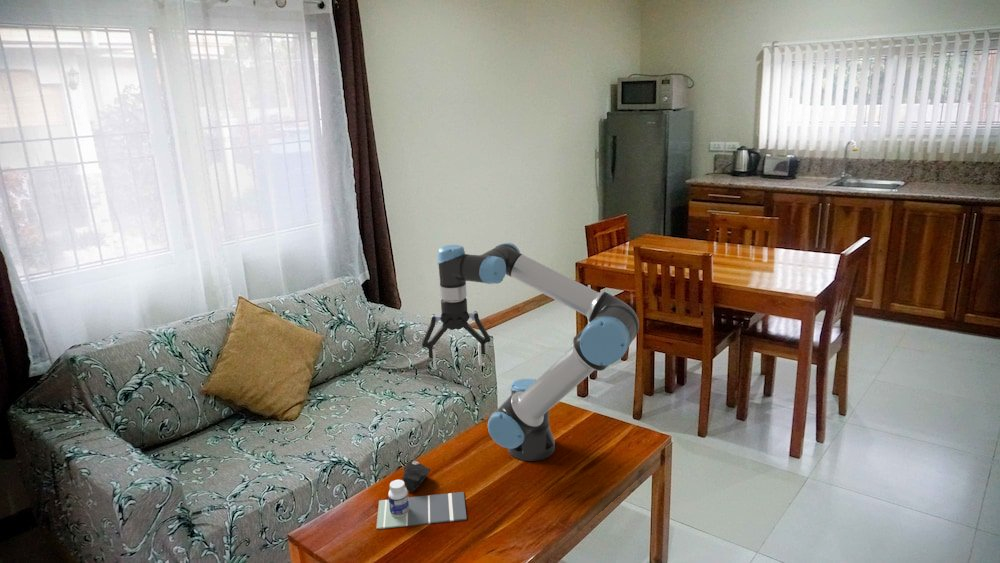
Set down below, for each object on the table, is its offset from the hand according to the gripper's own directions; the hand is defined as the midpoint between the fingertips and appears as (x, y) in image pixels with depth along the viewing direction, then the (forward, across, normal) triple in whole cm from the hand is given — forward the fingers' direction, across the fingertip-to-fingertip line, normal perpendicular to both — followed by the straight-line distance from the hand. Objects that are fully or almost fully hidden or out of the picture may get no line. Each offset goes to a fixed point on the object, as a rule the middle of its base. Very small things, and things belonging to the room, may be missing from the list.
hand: (457, 365), depth 192 cm
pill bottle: (+31, +19, +24) cm, 44 cm away
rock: (+32, +14, +10) cm, 37 cm away
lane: (+32, +13, +24) cm, 42 cm away
